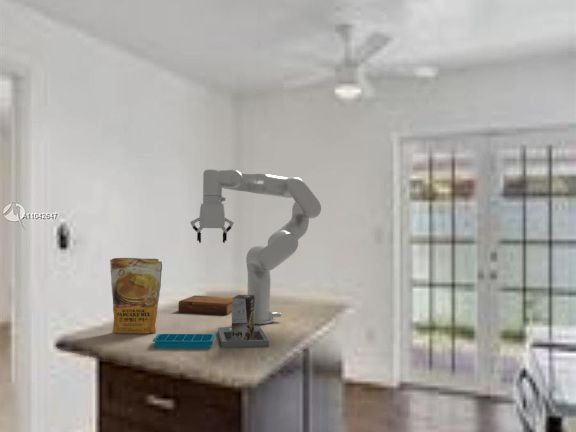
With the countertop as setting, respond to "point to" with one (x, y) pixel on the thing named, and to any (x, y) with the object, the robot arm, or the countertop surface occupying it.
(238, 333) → the coffee box
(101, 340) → the countertop surface
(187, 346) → the ice cube tray
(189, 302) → the diary
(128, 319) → the pancake mix bag
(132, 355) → the countertop surface
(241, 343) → the grey plastic frame
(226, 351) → the countertop surface
